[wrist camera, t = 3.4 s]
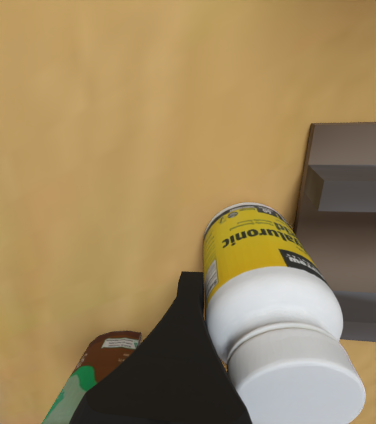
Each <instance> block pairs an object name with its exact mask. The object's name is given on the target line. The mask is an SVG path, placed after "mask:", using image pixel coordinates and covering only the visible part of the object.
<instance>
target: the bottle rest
mask: <svg viewBox="0 0 376 424" xmlns="http://www.w3.org/2000/svg"><path fill="white" fill-rule="evenodd" d="M293 232H294V234H295V235H296V237H297V238H298V240H299V241H300V243H301V244H302V246H303V248H304V249H305V251H306V252H307V254H308V255H309V257H310V258H311V260H312V261H313V263H314V264H315V266H316V267H317V269H318V270H319V272H320V273H321V275H322V276H323V277H324V279H325V280H326V282H327V283H328V285H329V287H330V288H331V290H332V291H333V293H334V295H335V297H336V299H337V301H338V302H339V305H340V307H341V311H342V315H343V330H342V334H341V337H340V339H345V340H358V341H371V342H376V122H358V123H311V129H310V135H309V141H308V147H307V153H306V159H305V165H304V171H303V177H302V183H301V189H300V195H299V201H298V207H297V213H296V219H295V225H294V231H293Z"/></svg>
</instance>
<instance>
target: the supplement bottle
mask: <svg viewBox="0 0 376 424" xmlns="http://www.w3.org/2000/svg"><path fill="white" fill-rule="evenodd" d="M203 261H204V289H205V321H206V326H207V329H208V332H209V335H210V337H211V340H212V342H213V345H214V347H215V349H216V352H217V354H218V356H219V358H220V359H221V360H222V361H223V362H224V363H226V364H227V374H228V376H229V378H230V380H231V382H232V384H233V385H234V387H235V389H236V391H237V392H238V394H239V396H240V398H241V399H242V401H243V402H244V404H245V406H246V407H247V410H248V413H249V415H250V418H251V421H252V423H253V424H348V423H350V422H351V421H352V420H354V419H355V418H356V417H357V416H358V414H359V413H360V412H361V410H362V408H363V406H364V403H365V398H366V393H365V388H364V386H363V383H362V381H361V379H360V377H359V375H358V374H357V372H356V370H355V368H354V366H353V365H352V363H351V361H350V359H349V356H348V354H347V352H346V351H345V349H344V348H343V347H342V345H341V344H340V343H339V339H340V337H341V334H342V330H343V315H342V311H341V307H340V305H339V302H338V301H337V299H336V297H335V295H334V293H333V291H332V290H331V288H330V287H329V285H328V283H327V282H326V280H325V279H324V277H323V276H322V275H321V273H320V272H319V270H318V269H317V267H316V266H315V264H314V263H313V261H312V260H311V258H310V257H309V255H308V254H307V252H306V251H305V249H304V248H303V246H302V244H301V243H300V241H299V240H298V238H297V237H296V235H295V234H294V232H293V231H292V229H291V228H290V226H289V225H288V223H287V222H286V221H285V219H284V218H283V217H282V216H281V215H280V214H279V213H278V212H277V211H275V210H274V209H272V208H271V207H268V206H266V205H263V204H259V203H252V202H246V203H238V204H235V205H232V206H229V207H227V208H225V209H223V210H222V211H220V212H219V213H218V214H216V215H215V216H214V217H213V219H212V220H211V221H210V223H209V224H208V226H207V228H206V231H205V234H204V240H203Z"/></svg>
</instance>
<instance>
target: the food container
mask: <svg viewBox="0 0 376 424" xmlns="http://www.w3.org/2000/svg"><path fill="white" fill-rule="evenodd" d="M140 340H141V333H139V332H132V331H114V332H109V333H106V334H103V335H100V336H98V337H97V338H96V339H95V340H93V341H92V342H91V343H90V345H89V346H88V348H87V349H86V351H85V353H84V354H83V356H82V358H81V359H80V361H79V363H78V364H77V366H76V368H75V369H74V371H73V373H72V374H71V376H70V378H69V379H68V381H67V382H66V384H65V386H64V387H63V389H62V391H61V392H60V394H59V396H58V397H57V399H56V401H55V402H54V404H53V406H52V407H51V409H50V411H49V412H48V414H47V416H46V417H45V419H44V420H43V422H42V424H69V422H70V420H71V418H72V416H73V413H74V412H75V410H76V408H77V406H78V405H79V403H80V401H81V399H82V398H83V396H84V394H85V393H86V392H87V391H88V390H89V389H91V388H92V387H93V386H94V385H96V384H97V383H98V382H100V381H101V380H102V379H103V378H105V377H106V376H107V375H108V374H109V373H111V372H112V371H113V370H114V369H115V368H116V367H117V366H118V365H120V364H121V363H122V362H123V361H124V360H125V359H126V358H127V357H128V356H129V355H130V354H131V353H132V352H133V351H134V350H135V349H136V348H137V347H138V346H139V345H140Z"/></svg>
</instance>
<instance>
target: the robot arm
mask: <svg viewBox="0 0 376 424" xmlns="http://www.w3.org/2000/svg"><path fill="white" fill-rule="evenodd" d="M203 312H204V278H203V272H182V273H181V276H180V279H179V282H178V290H177V297H176V299H175V300H174V302H173V303H172V305H171V306H170V308H169V309H168V311H167V312H166V314H165V315H164V316H163V318H162V319H161V321H160V322H159V323H158V324H157V326H156V327H155V328H154V329H153V331H152V332H151V333H150V334H149V335H148V336H147V338H146V339H145V340H144V341H143V342H142V343H141V344H140V345H139V346H138V347H137V348H136V349H135V350H134V351H133V352H132V353H131V354H130V355H129V356H128V357H127V358H126V359H125V360H124V361H123V362H122V363H121V364H120V365H118V366H117V367H116V368H115V369H114V370H113V371H112V372H111V373H109V374H108V375H107V376H106V377H105V378H103V379H102V380H101V381H100V382H98V383H97V384H96V385H94V386H93V387H92V388H91V389H89V390H88V391H87V392H86V393H85V394H84V396H83V398H82V399H81V401H80V403H79V405H78V406H77V408H76V410H75V412H74V413H73V416H72V418H71V420H70V422H69V424H253V423H252V421H251V418H250V415H249V413H248V410H247V407H246V406H245V404H244V402H243V401H242V399H241V398H240V396H239V394H238V392H237V391H236V389H235V387H234V385H233V384H232V382H231V380H230V378H229V376H228V374H227V372H226V370H225V368H224V366H223V364H222V362H221V360H220V358H219V356H218V354H217V352H216V349H215V347H214V345H213V342H212V340H211V337H210V335H209V332H208V329H207V326H206V323H205V320H204V317H203Z"/></svg>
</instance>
